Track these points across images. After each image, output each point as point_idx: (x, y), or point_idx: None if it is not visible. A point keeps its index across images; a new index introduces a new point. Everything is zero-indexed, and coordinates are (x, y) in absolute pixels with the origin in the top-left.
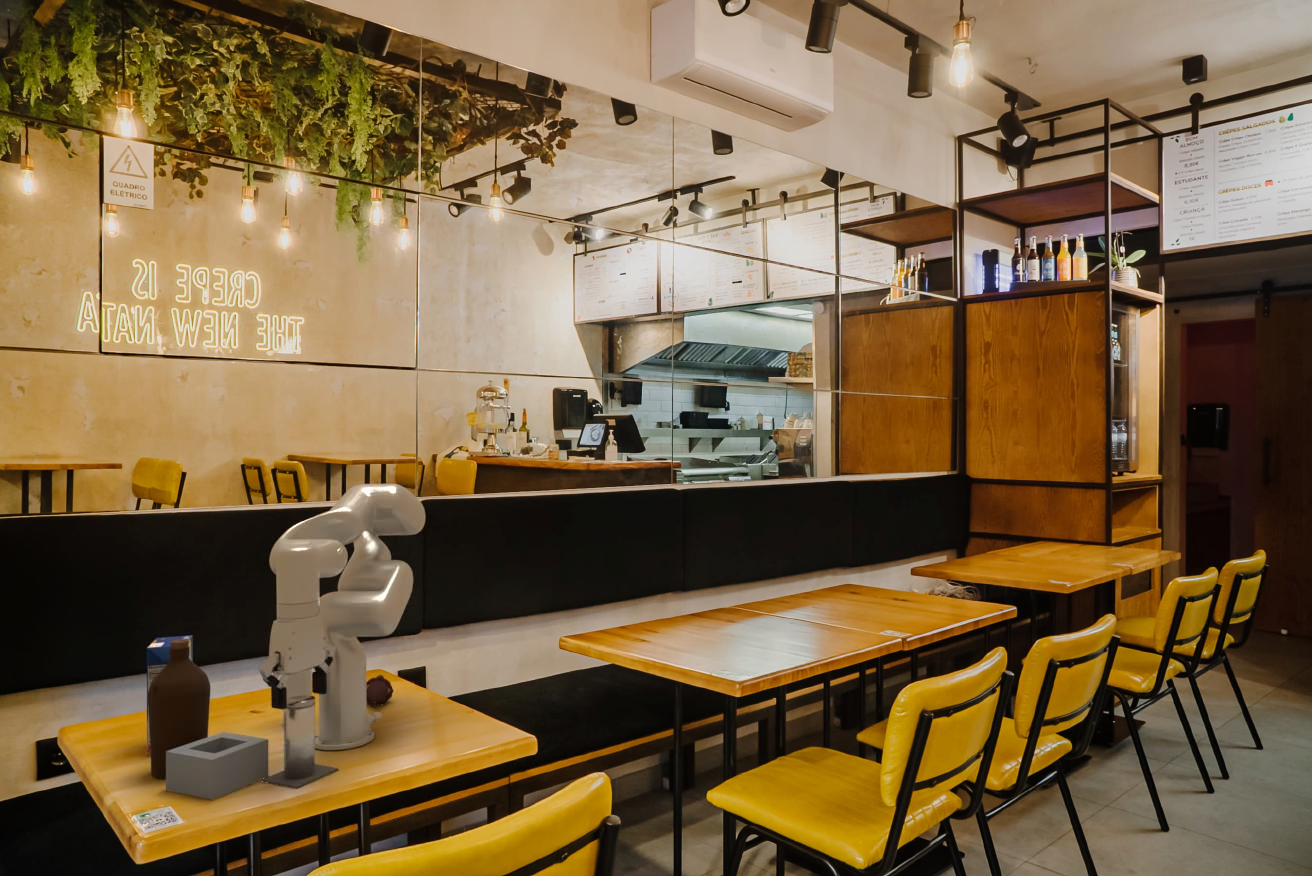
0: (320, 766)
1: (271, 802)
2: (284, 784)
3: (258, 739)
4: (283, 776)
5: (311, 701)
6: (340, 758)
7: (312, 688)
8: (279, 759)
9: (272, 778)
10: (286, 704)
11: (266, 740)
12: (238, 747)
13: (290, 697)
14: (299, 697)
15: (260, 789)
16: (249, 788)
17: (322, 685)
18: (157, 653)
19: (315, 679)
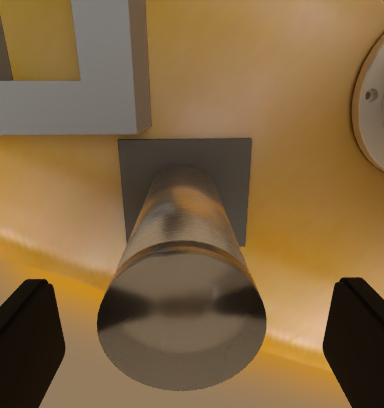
0: (240, 202)
1: (55, 254)
2: (124, 213)
3: (118, 99)
4: (157, 173)
5: (191, 385)
6: (310, 192)
7: (349, 295)
8: (260, 37)
9: (135, 159)
10: (56, 368)
11: (129, 133)
12: (21, 108)
13: (193, 256)
14: (213, 302)
15: (88, 176)
16: (78, 147)
17: (347, 390)
18: None
19: (382, 377)
